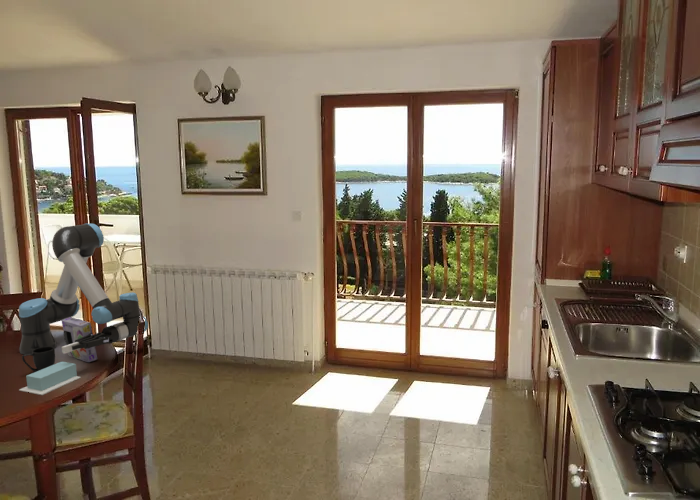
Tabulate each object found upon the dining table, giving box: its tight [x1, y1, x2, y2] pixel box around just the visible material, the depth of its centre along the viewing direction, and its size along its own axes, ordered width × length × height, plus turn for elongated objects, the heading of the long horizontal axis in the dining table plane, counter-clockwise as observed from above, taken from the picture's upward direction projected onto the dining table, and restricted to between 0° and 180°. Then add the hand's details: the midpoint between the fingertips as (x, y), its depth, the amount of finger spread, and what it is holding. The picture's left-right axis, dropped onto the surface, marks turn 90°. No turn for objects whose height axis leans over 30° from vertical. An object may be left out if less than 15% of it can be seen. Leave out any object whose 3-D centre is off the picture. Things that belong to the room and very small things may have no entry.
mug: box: [21, 346, 56, 373], centre depth 231 cm, size 8×12×10 cm
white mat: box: [18, 375, 81, 396], centre depth 219 cm, size 13×18×1 cm
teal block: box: [26, 361, 78, 391], centre depth 220 cm, size 8×5×16 cm
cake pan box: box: [60, 317, 98, 363], centre depth 246 cm, size 19×5×18 cm, turn 53°
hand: (63, 350), depth 223 cm, fingers closed
